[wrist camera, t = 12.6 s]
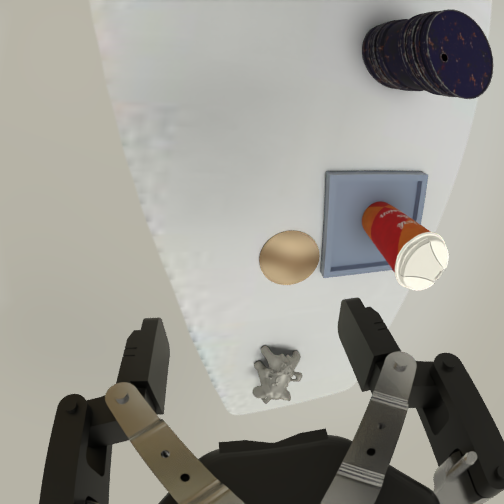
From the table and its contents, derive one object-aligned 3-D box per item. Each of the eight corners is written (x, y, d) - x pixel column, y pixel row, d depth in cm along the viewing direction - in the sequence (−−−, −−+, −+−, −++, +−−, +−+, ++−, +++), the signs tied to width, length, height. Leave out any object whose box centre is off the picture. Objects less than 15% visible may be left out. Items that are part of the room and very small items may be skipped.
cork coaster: (258, 233, 45) (258, 234, 45) (320, 228, 46) (321, 229, 45) (260, 285, 50) (260, 287, 49) (316, 279, 50) (317, 281, 50)
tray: (325, 171, 42) (330, 175, 40) (421, 171, 43) (428, 174, 41) (320, 271, 50) (323, 277, 48) (406, 261, 51) (411, 267, 49)
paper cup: (407, 210, 45) (461, 254, 33) (379, 249, 48) (424, 302, 36) (374, 184, 43) (428, 225, 30) (344, 227, 45) (386, 280, 33)
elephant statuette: (300, 340, 57) (309, 369, 50) (294, 382, 62) (301, 410, 56) (250, 343, 56) (253, 374, 50) (250, 386, 62) (253, 415, 55)
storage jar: (408, 19, 31) (478, 7, 18) (429, 81, 36) (501, 91, 23) (350, 30, 32) (411, 12, 19) (375, 97, 37) (442, 109, 24)
